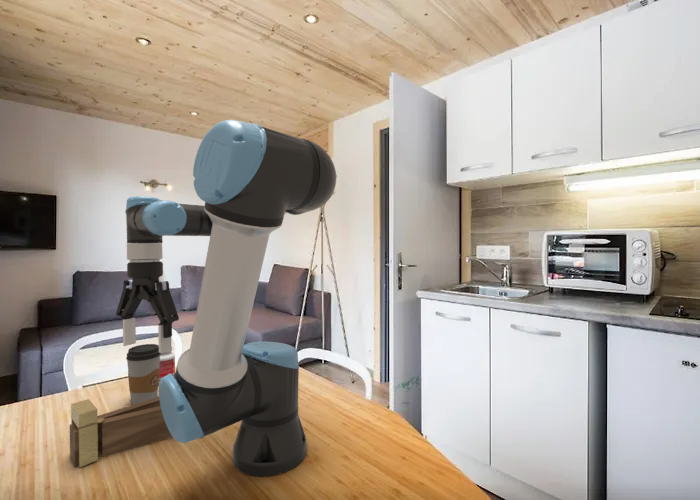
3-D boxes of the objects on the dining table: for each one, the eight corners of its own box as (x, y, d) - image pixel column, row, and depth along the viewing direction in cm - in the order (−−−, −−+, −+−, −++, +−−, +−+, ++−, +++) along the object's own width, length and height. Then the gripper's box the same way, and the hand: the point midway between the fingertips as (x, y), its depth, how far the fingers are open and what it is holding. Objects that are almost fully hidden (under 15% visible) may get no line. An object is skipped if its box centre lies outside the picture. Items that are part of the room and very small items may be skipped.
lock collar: (97, 460, 70) (97, 409, 70) (79, 467, 68) (78, 414, 67) (89, 447, 74) (88, 399, 74) (71, 453, 72) (71, 403, 72)
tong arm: (188, 432, 81) (188, 403, 81) (102, 456, 72) (102, 423, 71) (187, 428, 82) (187, 399, 82) (102, 451, 73) (102, 419, 73)
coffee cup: (145, 409, 91) (145, 353, 91) (119, 406, 93) (118, 351, 93) (168, 396, 100) (167, 344, 99) (143, 393, 101) (142, 342, 101)
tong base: (184, 424, 84) (184, 394, 84) (74, 467, 68) (74, 430, 68) (176, 418, 87) (176, 389, 87) (70, 458, 71) (69, 422, 71)
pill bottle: (177, 381, 110) (177, 347, 109) (156, 387, 105) (156, 351, 105) (171, 376, 114) (171, 343, 114) (150, 381, 110) (150, 347, 110)
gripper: (194, 260, 82) (195, 349, 82) (129, 260, 93) (130, 338, 93) (165, 262, 75) (166, 359, 75) (98, 261, 86) (100, 345, 86)
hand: (146, 347), depth 84 cm, fingers open, 13 cm apart
